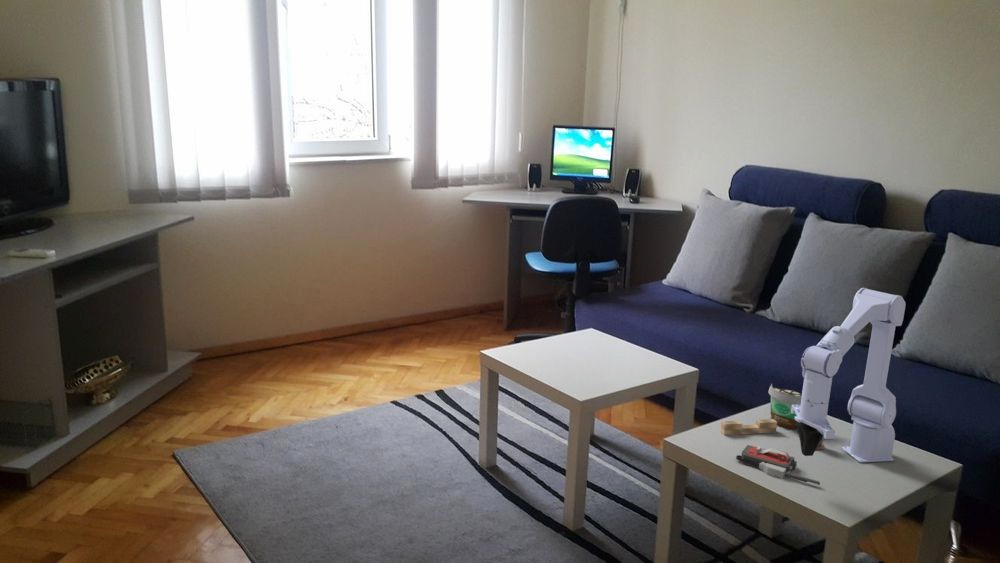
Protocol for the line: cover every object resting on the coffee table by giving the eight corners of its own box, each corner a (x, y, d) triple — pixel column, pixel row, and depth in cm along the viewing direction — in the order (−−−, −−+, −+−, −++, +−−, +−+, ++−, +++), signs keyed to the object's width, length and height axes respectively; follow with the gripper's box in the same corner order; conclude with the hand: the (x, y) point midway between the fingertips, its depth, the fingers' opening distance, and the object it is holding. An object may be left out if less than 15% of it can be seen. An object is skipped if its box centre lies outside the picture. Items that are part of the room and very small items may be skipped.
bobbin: (818, 442, 202) (820, 421, 200) (827, 449, 197) (830, 429, 196) (802, 443, 201) (805, 422, 199) (811, 450, 197) (814, 429, 195)
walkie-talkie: (732, 466, 188) (818, 491, 177) (734, 449, 187) (820, 473, 176) (743, 452, 195) (826, 476, 184) (745, 436, 194) (828, 459, 183)
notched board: (772, 429, 209) (773, 419, 208) (775, 432, 207) (777, 422, 206) (720, 431, 206) (721, 421, 205) (723, 434, 204) (724, 424, 203)
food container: (759, 423, 212) (763, 389, 210) (765, 416, 217) (770, 382, 215) (805, 435, 206) (810, 400, 203) (811, 427, 210) (816, 393, 208)
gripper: (782, 387, 179) (775, 441, 182) (817, 412, 165) (808, 470, 168) (809, 386, 180) (802, 439, 183) (846, 411, 166) (838, 468, 169)
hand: (807, 454), depth 176 cm, fingers closed
